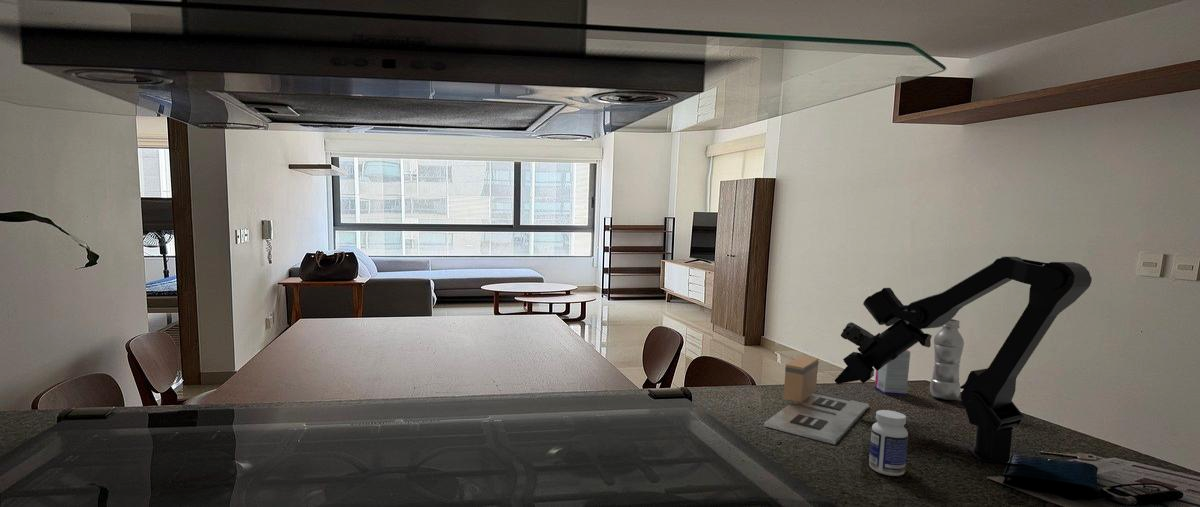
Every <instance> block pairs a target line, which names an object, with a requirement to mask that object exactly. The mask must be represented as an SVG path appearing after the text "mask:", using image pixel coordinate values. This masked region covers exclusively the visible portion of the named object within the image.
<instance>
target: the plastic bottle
mask: <svg viewBox="0 0 1200 507" xmlns="http://www.w3.org/2000/svg"><path fill="white" fill-rule="evenodd" d="M960 324H961V323H960V320H959V319H953V318H952V319H951V320H949V321H948V322H947V323H946V324H945V325H943V326H941V329H940V330H939V331H938V332H937V333H936V334H935V335H934V338H933V346H934V347H933V348H934V366H933V372H932V376H931V379H930V384H929V393H930V394H931V395H932V396H933V397H935V398H937V399H941V400H945V401H946V400H949V401H955V400H957V399H958V398H960V396H961V388H960V387H961V384H960V365H961V364H960V363H961V358H962V355H963V350H964V346H965V342H964V338H963V336H962V334H961V333H960V331H959V329H960Z"/></svg>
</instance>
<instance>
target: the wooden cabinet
mask: <svg viewBox="0 0 1200 507" xmlns="http://www.w3.org/2000/svg"><path fill="white" fill-rule="evenodd" d="M819 362H820V361H819V358H817V357H811V356H808V355H807V356H805V355H800V356H799V357H796V358H795V359H793V360H792V361H789V362H787V363H786V364H785V368H784V372H785V373H784V385H783V386H784V387H783V396H782V398H783V399H784V400H789V401H791V402H793V401H797V402H802V401H803V400H805V399H806V398H807V397H809V396H810V395H811V394H813V393H814V392H817V384H818V371H819V370H818V369H819Z"/></svg>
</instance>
